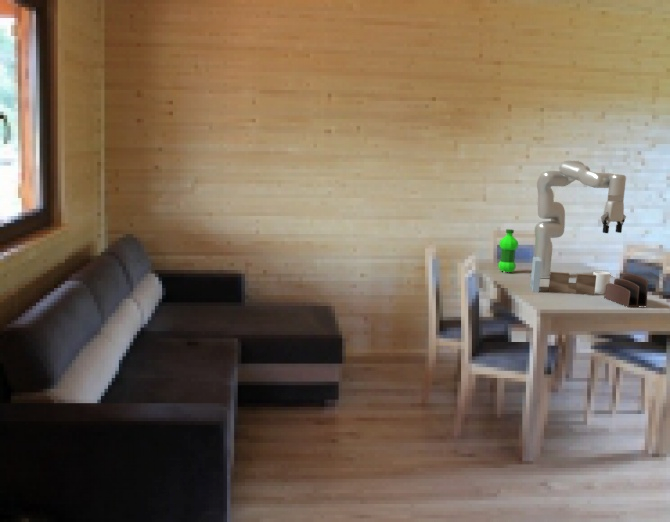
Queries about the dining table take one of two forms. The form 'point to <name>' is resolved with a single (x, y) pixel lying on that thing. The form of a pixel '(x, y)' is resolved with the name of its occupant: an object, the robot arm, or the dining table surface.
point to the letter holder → (628, 290)
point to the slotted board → (582, 285)
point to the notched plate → (535, 274)
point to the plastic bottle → (508, 252)
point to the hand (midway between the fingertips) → (611, 232)
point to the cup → (601, 281)
